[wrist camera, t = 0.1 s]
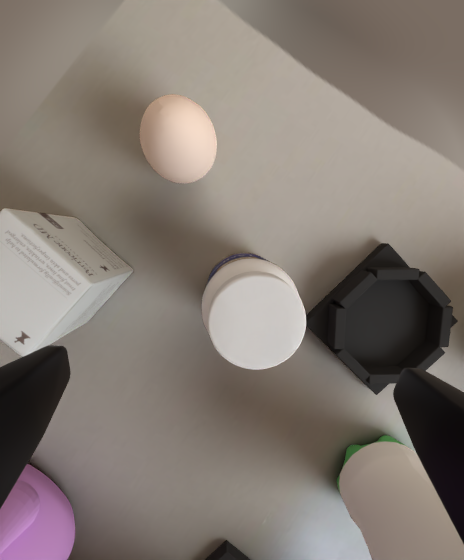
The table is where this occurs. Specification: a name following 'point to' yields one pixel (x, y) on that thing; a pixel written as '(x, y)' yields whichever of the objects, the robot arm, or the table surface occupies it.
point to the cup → (396, 504)
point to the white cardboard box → (51, 277)
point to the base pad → (227, 553)
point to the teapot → (36, 520)
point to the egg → (178, 139)
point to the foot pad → (384, 319)
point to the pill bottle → (252, 312)
